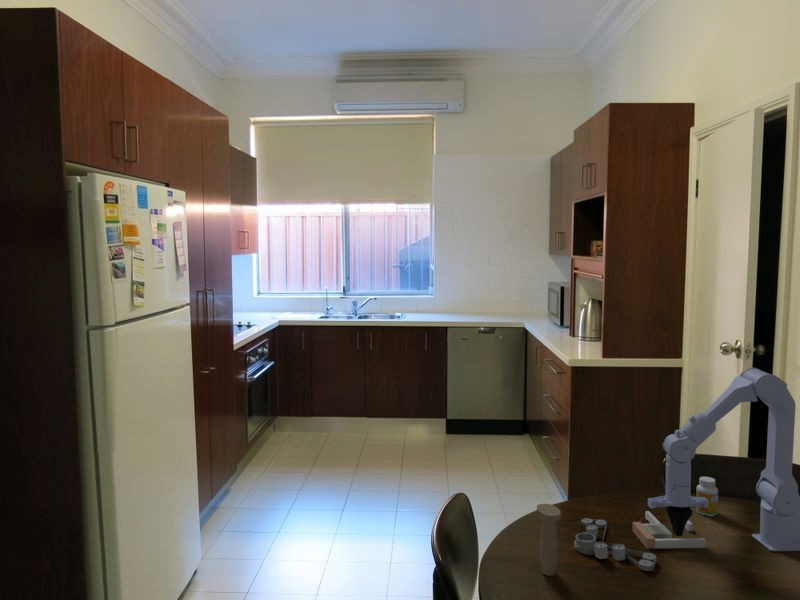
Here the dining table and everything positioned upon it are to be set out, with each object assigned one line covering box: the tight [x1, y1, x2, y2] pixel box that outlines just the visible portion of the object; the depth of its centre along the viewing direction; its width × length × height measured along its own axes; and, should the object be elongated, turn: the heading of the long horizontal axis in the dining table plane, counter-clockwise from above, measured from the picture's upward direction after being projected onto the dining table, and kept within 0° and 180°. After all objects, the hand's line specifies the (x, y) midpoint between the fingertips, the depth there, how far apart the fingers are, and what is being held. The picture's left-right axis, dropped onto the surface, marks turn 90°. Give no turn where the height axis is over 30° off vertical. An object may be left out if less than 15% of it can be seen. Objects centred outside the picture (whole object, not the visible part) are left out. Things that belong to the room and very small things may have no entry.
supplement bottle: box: [695, 476, 719, 517], centre depth 159 cm, size 5×5×10 cm
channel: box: [642, 510, 707, 549], centre depth 149 cm, size 14×16×2 cm
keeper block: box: [644, 524, 673, 539], centre depth 145 cm, size 5×5×3 cm
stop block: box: [632, 521, 656, 549], centre depth 145 cm, size 2×9×2 cm, turn 179°
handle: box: [536, 503, 561, 577], centre depth 130 cm, size 5×6×15 cm
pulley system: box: [573, 517, 658, 572], centre depth 142 cm, size 27×5×15 cm
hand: (677, 534), depth 145 cm, fingers closed
